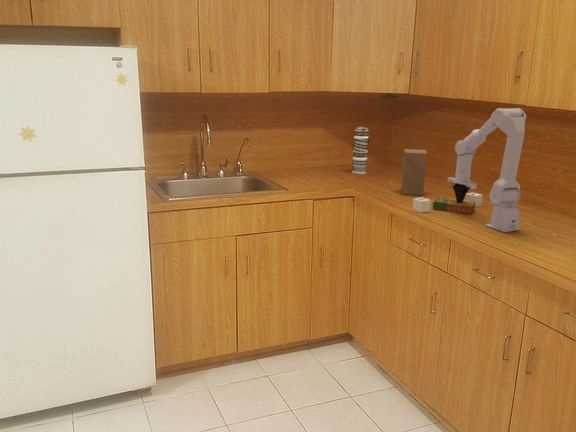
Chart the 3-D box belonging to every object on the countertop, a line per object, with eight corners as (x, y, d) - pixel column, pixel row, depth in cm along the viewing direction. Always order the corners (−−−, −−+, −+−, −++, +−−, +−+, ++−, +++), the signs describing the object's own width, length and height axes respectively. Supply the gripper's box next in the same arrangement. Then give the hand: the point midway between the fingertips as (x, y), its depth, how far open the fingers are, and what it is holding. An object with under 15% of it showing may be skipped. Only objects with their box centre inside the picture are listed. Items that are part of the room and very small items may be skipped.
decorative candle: (360, 174, 297) (363, 128, 290) (347, 172, 303) (349, 127, 296) (370, 172, 303) (373, 127, 296) (357, 170, 309) (359, 126, 302)
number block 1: (429, 211, 223) (430, 199, 222) (420, 213, 221) (421, 200, 219) (421, 208, 227) (422, 197, 226) (412, 210, 225) (413, 198, 224)
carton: (471, 215, 220) (473, 205, 219) (432, 210, 227) (433, 200, 225) (474, 210, 227) (475, 201, 226) (435, 206, 234) (436, 196, 233)
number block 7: (481, 206, 235) (482, 194, 233) (472, 207, 232) (474, 195, 231) (472, 203, 239) (474, 192, 237) (464, 204, 237) (465, 193, 235)
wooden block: (423, 195, 250) (427, 153, 245) (401, 194, 252) (404, 151, 247) (422, 191, 260) (426, 150, 254) (401, 189, 262) (404, 148, 256)
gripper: (483, 172, 215) (479, 205, 219) (457, 166, 227) (454, 197, 231) (470, 173, 212) (466, 207, 216) (445, 167, 224) (441, 199, 228)
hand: (459, 202), depth 223 cm, fingers closed
